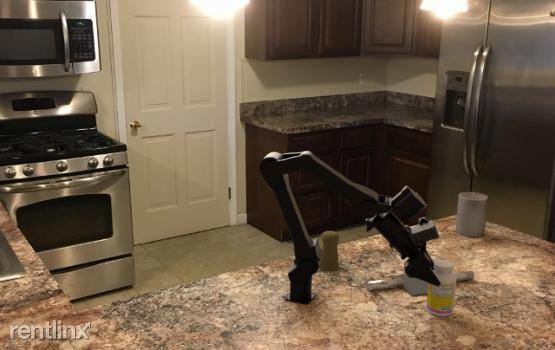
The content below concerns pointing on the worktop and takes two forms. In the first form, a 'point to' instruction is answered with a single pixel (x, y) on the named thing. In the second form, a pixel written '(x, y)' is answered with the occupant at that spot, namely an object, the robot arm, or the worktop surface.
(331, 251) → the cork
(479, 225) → the pillar candle
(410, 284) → the rubber pad
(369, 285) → the steel shafts
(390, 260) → the worktop surface
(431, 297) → the supplement bottle
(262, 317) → the worktop surface
